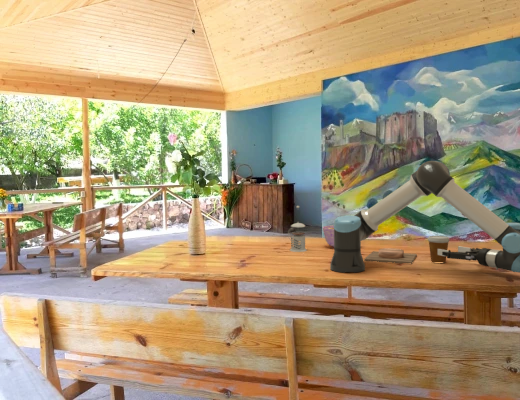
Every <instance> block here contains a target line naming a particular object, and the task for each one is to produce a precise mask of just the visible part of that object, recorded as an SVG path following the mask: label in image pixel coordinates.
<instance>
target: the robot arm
mask: <svg viewBox="0 0 520 400" xmlns="http://www.w3.org/2000/svg"><path fill="white" fill-rule="evenodd" d="M431 194H433V196H435V197H436V198H442V199H443V200H444V201H446V203H448V204H450V205H451V206H452V207H453V208H454V209H455V210H457V211H458V212H459V213H460V214H462V215H463V216H464V217H466V218H467V219H468V220H469V221H470V222H472V223H473V224H474V225H476V226H477V227H478V228H479V229H480V230H482V231H483V232H484V233H485V234H487V235H488V236H489V237H490V238H492V239H493V240H494V241H495V242H497V243H498V244H499V245H500V246H501V247H502V250H500V249H494V248H488V247H487V248H486V247H481V248H479V247H476V248H474V247H467V246H460V245H458V246H457V251H451V250H450V249H447V250H442V249H438V255H441V256H446V259H454V260H464V261H465V260H466V261H469V262H470V261H474V262H475V261H477V263H478V264H479V265H480V266H483V267H489V268H494V269H495V270H499V269H500V270H504V271H508V272H514V273H520V222H506V221H504V220H503V219H502V218H501V217H500V216H498V215H497V214H495V213H494V212H493V211H492V210H490V209H489V208H488V207H486V206H485V205H484V204H483V203H481V202H480V201H479V200H477V198H475V197H474V196H472V195H471V194H470V193H469V192H468V191H466V190H465V189H464V188H462V187H461V186H460V185H459V184H458V183H456V182H455V178H454V177H453V176H451V173H450V169H449V167H448V166H447V165H446V164H445V163H443V162H442V161H439V160H428V161H425V162H423V163H422V164H421V165H420V166H419V167H418V169H417V170H416V171H414V172H413V173H412V174H411V175H410V178H409V180H408V181H406V182H405V183H404V184H402V185H401V186H399V187H398V188H396V189H395V190H393V191H392V192H391V193H390V194H387V196H385V197H384V198H382V199H381V200H379V201H378V202H377V203H375V204H374V205H373V206H371V207H369V208H368V209H367V210H366V209H361V210H360V211H358V212H357V213H355V214H354V215H341V216H338V217H336V218H335V219H334V220H333V222H334V223H333V225H334V248H333V255H332V256H331V257H332V258H331V261H330V264H329V265H330V270H331V271H332V272H333V271H334V272H338V273H345V272H354V273H361V272H364V271H365V270H366V264H365V261H364V258H363V254H362V252H361V251H362V250H361V249H362V248H361V247H362V246H361V245H362V241H365V240H366V239H367V238H369V237H370V236H371V235H373V234H374V233H375V232H376V231H378V230H379V229H378V228H379V226H380V225H382V224H383V223H384V222H386V221H387V220H388V219H390V218H391V217H393V216H395V215H396V214H398V213H399V212H400V211H401V210H403V209H405V208H406V207H407V206H409V205H410V204H412V203H413V202H415V201H416V200H418V199H419V198H421V197H422V196H423V197H424V196H425V197H428V196H430V195H431Z"/></svg>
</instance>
